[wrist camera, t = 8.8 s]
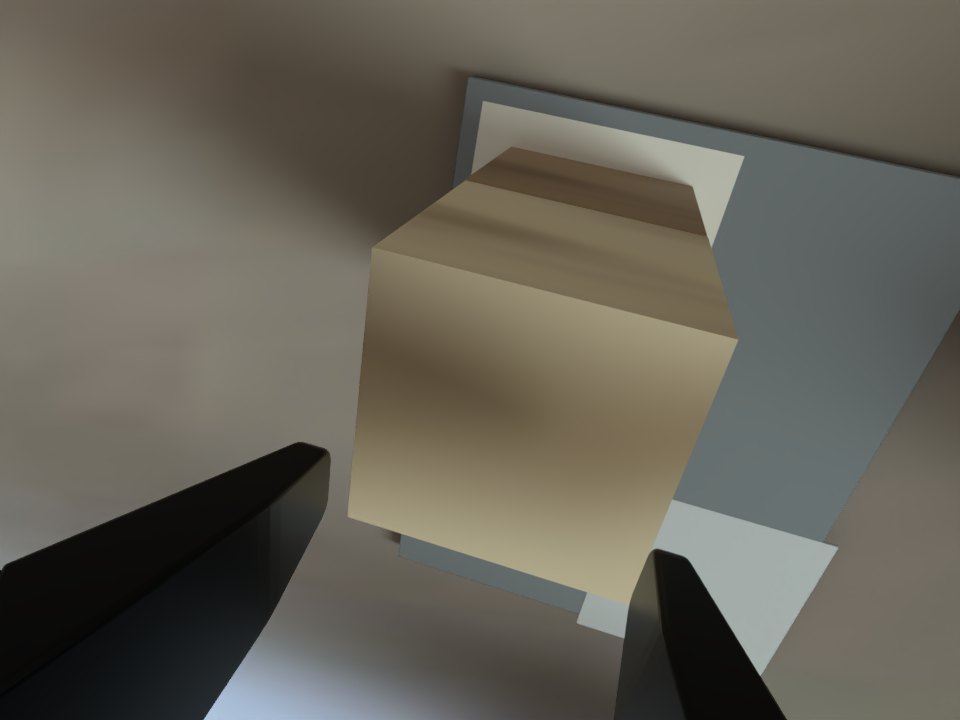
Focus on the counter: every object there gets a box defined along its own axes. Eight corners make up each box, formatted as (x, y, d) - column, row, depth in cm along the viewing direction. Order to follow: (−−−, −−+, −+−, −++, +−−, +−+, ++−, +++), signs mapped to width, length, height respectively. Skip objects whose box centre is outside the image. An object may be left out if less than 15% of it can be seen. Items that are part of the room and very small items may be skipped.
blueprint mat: (755, 667, 24) (757, 681, 24) (402, 554, 26) (396, 565, 26) (1036, 192, 15) (1050, 198, 15) (473, 76, 17) (468, 77, 17)
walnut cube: (638, 350, 19) (634, 440, 15) (480, 309, 20) (433, 383, 15) (692, 186, 17) (707, 235, 12) (511, 146, 17) (464, 179, 13)
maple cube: (635, 440, 15) (628, 604, 10) (433, 384, 15) (347, 516, 11) (708, 237, 12) (738, 339, 8) (466, 180, 13) (372, 246, 9)
